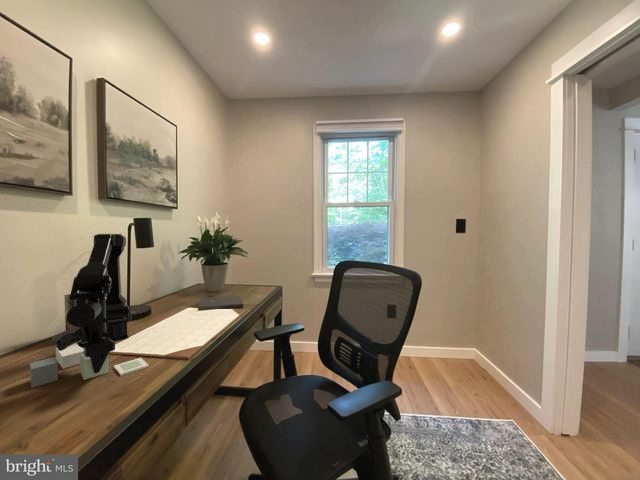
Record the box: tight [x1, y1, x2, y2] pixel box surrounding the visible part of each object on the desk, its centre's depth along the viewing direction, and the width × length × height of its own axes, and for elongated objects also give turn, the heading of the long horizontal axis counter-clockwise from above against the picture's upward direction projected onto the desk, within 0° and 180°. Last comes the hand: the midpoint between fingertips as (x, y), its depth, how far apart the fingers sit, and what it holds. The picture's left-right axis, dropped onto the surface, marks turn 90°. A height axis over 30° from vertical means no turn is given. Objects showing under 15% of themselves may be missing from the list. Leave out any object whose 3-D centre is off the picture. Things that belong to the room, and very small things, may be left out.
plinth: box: [55, 342, 84, 370], centre depth 89 cm, size 10×10×4 cm
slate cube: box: [29, 356, 59, 388], centre depth 76 cm, size 5×5×5 cm
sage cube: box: [79, 354, 110, 381], centre depth 80 cm, size 6×6×6 cm
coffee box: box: [63, 291, 89, 331], centre depth 108 cm, size 9×6×16 cm
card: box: [113, 357, 149, 377], centre depth 84 cm, size 7×7×1 cm
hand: (94, 369), depth 80 cm, fingers closed on sage cube, 5 cm apart
